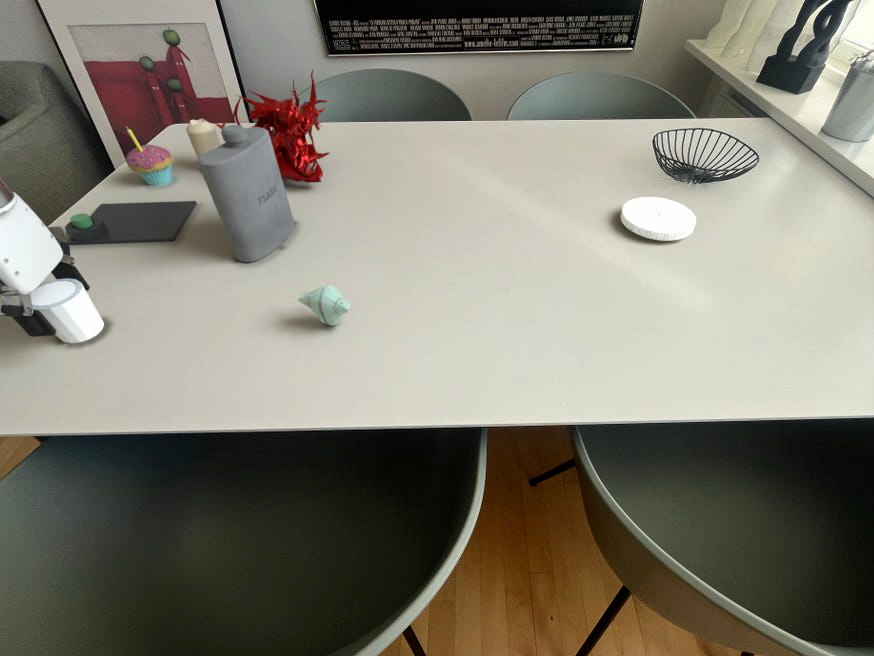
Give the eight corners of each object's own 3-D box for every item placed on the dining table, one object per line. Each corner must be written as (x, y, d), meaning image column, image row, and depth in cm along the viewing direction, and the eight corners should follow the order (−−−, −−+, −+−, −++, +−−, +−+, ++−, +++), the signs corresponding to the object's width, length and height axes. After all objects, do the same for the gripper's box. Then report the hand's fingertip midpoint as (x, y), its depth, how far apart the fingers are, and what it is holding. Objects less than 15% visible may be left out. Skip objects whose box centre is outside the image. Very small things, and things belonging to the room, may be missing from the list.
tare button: (72, 230, 86) (66, 221, 84) (80, 222, 88) (74, 213, 86) (89, 229, 86) (83, 220, 85) (96, 221, 88) (91, 212, 86)
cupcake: (170, 190, 101) (143, 131, 92) (129, 189, 101) (98, 130, 92) (187, 171, 107) (162, 114, 98) (148, 171, 107) (120, 114, 98)
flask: (260, 266, 83) (217, 149, 68) (230, 260, 84) (182, 144, 69) (303, 223, 93) (274, 113, 78) (276, 218, 94) (242, 109, 79)
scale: (66, 245, 86) (58, 233, 84) (101, 207, 96) (94, 195, 94) (174, 241, 87) (168, 229, 86) (197, 204, 97) (192, 192, 95)
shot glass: (117, 314, 73) (91, 277, 68) (93, 346, 69) (64, 308, 64) (71, 315, 73) (42, 277, 68) (44, 346, 68) (10, 308, 63)
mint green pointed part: (302, 327, 72) (290, 291, 67) (315, 310, 75) (305, 274, 70) (351, 337, 71) (343, 301, 66) (363, 319, 74) (355, 284, 69)
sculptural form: (307, 152, 90) (363, 82, 99) (185, 96, 90) (253, 30, 99) (320, 220, 109) (367, 156, 118) (220, 174, 109) (274, 112, 118)
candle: (196, 170, 107) (177, 124, 100) (211, 160, 111) (194, 114, 104) (218, 173, 106) (200, 126, 99) (233, 163, 110) (216, 117, 103)
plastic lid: (664, 204, 101) (667, 192, 99) (707, 238, 92) (711, 226, 90) (606, 214, 98) (608, 202, 96) (644, 250, 89) (648, 238, 87)
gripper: (-19, 165, 61) (64, 276, 73) (-124, 239, 49) (-3, 357, 61) (44, 163, 61) (116, 273, 74) (-44, 235, 49) (59, 352, 62)
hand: (62, 311), depth 67 cm, fingers open, 9 cm apart
